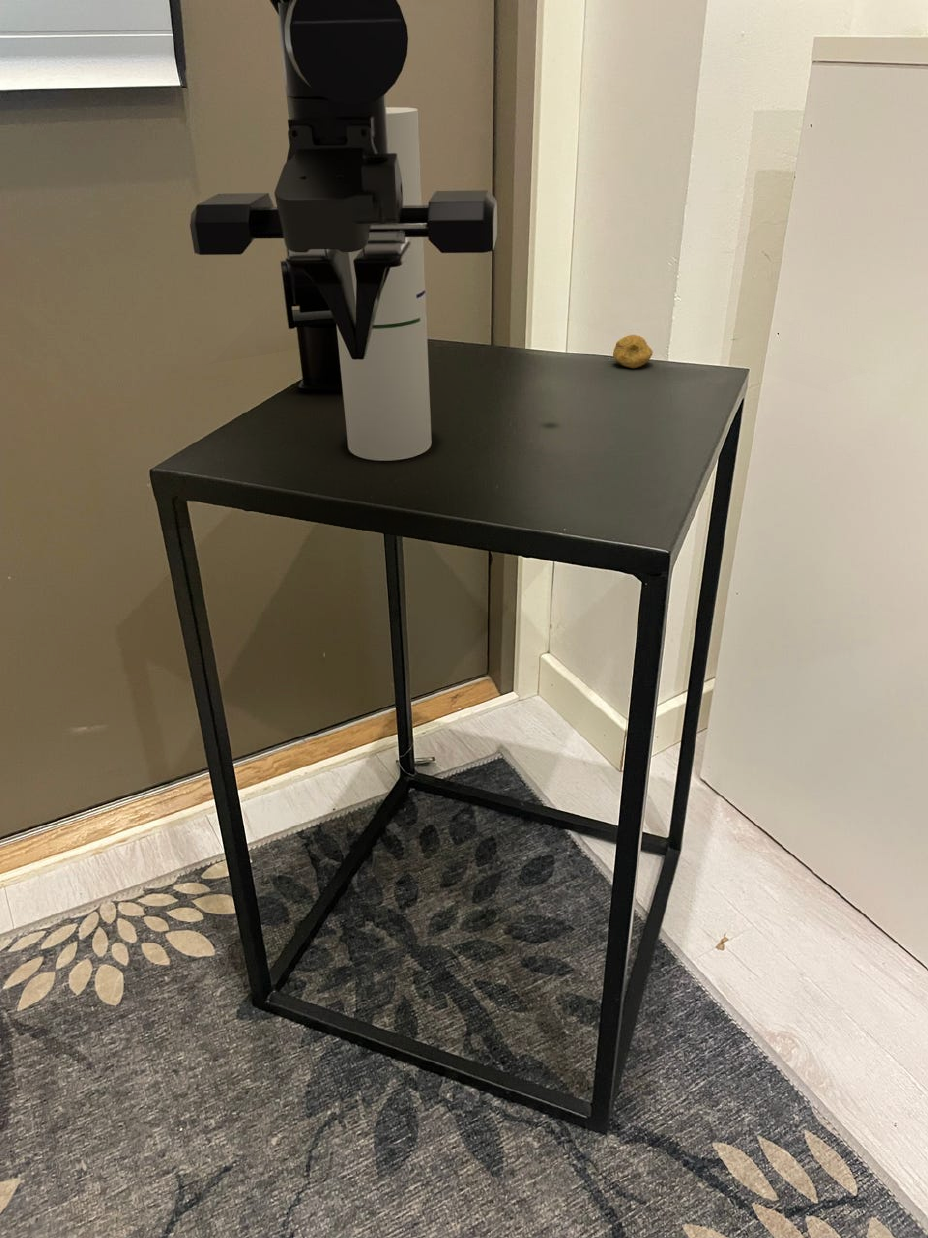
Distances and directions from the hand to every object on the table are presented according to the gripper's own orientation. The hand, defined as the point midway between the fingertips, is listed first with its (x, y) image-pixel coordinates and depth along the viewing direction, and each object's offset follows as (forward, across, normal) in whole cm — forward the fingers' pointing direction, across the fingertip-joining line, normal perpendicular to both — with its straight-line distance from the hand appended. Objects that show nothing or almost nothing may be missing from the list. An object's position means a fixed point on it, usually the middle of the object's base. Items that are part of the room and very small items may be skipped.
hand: (359, 357), depth 63 cm
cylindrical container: (+11, 0, +12) cm, 16 cm away
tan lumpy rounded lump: (+11, +22, +34) cm, 42 cm away
